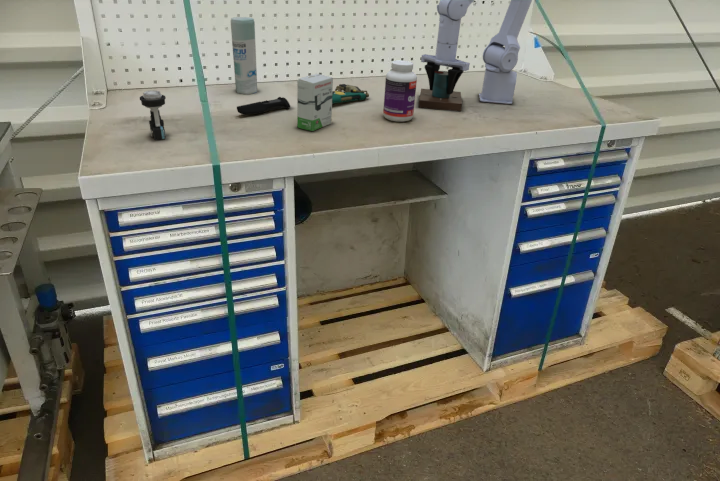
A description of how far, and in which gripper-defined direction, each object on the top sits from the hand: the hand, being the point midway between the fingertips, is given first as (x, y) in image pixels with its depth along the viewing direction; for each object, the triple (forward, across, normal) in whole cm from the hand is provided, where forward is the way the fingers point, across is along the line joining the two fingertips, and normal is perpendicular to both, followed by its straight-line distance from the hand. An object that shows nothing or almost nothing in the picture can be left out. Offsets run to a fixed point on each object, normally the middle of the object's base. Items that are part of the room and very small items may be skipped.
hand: (440, 91), depth 153 cm
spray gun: (+4, -23, -19) cm, 30 cm away
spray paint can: (+4, -47, -33) cm, 57 cm away
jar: (+1, 0, 0) cm, 1 cm away
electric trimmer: (+4, -28, -43) cm, 51 cm away
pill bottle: (+4, 0, -21) cm, 21 cm away
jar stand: (+3, 0, 0) cm, 3 cm away
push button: (+4, -32, -73) cm, 79 cm away
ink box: (+4, -12, -41) cm, 43 cm away
